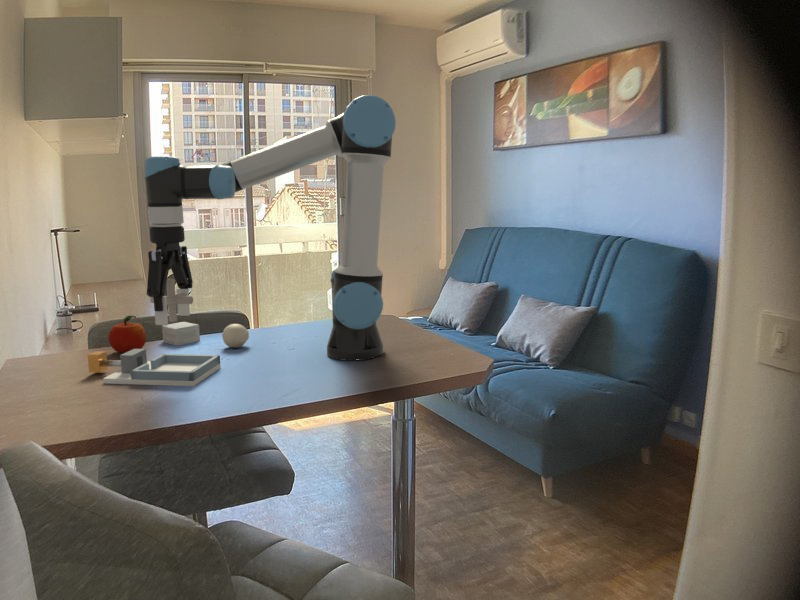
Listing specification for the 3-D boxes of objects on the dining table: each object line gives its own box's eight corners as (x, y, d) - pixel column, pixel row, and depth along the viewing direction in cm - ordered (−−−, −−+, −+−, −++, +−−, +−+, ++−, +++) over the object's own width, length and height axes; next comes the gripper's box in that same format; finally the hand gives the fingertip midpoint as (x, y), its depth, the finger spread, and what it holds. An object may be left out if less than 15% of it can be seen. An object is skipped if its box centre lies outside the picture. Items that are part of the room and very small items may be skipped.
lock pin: (139, 369, 155) (138, 352, 154) (132, 373, 151) (130, 355, 151) (97, 368, 156) (95, 351, 155) (89, 372, 153) (87, 354, 152)
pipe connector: (181, 326, 144) (178, 282, 142) (141, 324, 146) (138, 281, 144) (203, 317, 153) (200, 276, 151) (166, 316, 155) (163, 275, 153)
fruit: (101, 354, 172) (98, 318, 170) (128, 346, 181) (125, 312, 179) (128, 358, 168) (125, 321, 167) (154, 349, 177) (151, 314, 175)
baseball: (253, 347, 178) (252, 324, 177) (228, 351, 174) (226, 327, 173) (244, 342, 183) (243, 320, 182) (220, 346, 179) (218, 323, 178)
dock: (220, 367, 158) (219, 345, 157) (193, 386, 143) (191, 362, 142) (138, 365, 161) (136, 344, 160) (103, 383, 146) (101, 360, 145)
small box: (200, 341, 187) (199, 324, 186) (176, 346, 181) (175, 328, 180) (186, 337, 192) (185, 320, 191) (162, 342, 186) (161, 325, 185)
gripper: (174, 222, 157) (180, 310, 161) (123, 228, 135) (132, 330, 139) (203, 222, 156) (208, 310, 160) (156, 228, 134) (164, 330, 138)
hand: (173, 319), depth 149 cm, fingers closed on pipe connector, 10 cm apart
